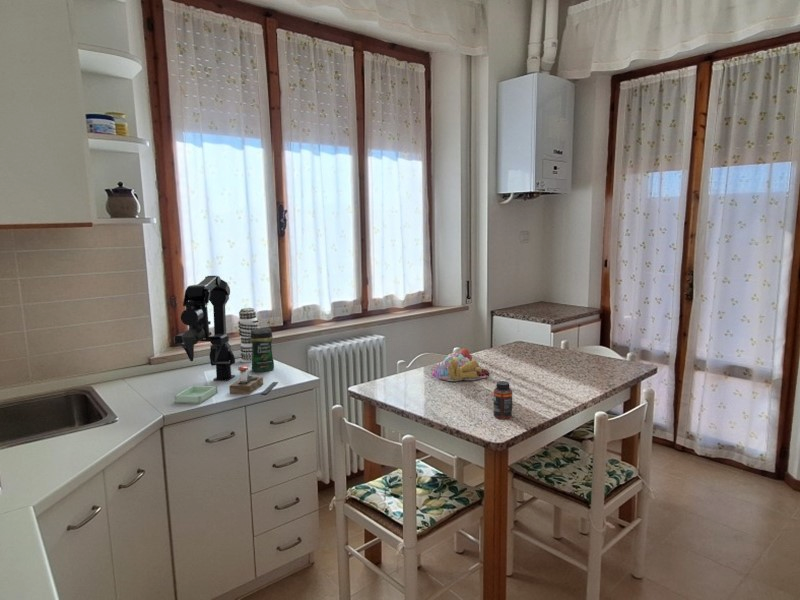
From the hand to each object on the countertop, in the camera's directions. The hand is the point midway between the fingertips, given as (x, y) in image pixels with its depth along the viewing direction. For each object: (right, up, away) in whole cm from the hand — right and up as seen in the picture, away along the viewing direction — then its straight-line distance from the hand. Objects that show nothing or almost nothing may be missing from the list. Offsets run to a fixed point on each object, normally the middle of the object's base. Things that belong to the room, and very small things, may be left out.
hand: (203, 361), depth 180 cm
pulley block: (+13, -12, +11) cm, 21 cm away
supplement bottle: (+106, -15, -22) cm, 109 cm away
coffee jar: (+12, -9, +37) cm, 40 cm away
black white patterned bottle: (+1, -6, +55) cm, 55 cm away
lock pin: (+12, -12, +9) cm, 20 cm away
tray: (-3, -14, +2) cm, 14 cm away
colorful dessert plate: (+97, -9, +26) cm, 101 cm away
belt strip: (+22, -12, +11) cm, 27 cm away
